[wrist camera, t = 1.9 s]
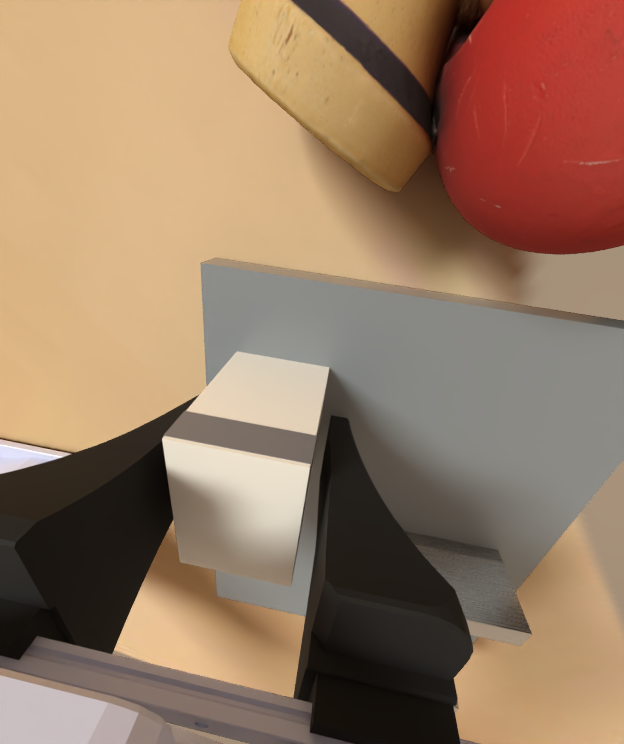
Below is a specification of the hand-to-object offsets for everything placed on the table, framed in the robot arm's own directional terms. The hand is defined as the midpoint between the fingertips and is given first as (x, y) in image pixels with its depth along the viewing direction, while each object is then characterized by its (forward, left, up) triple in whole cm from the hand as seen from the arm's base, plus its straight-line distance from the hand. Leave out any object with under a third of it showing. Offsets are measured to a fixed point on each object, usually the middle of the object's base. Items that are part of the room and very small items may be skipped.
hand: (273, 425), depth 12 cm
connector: (0, 0, -1) cm, 1 cm away
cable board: (+5, -5, -2) cm, 7 cm away
